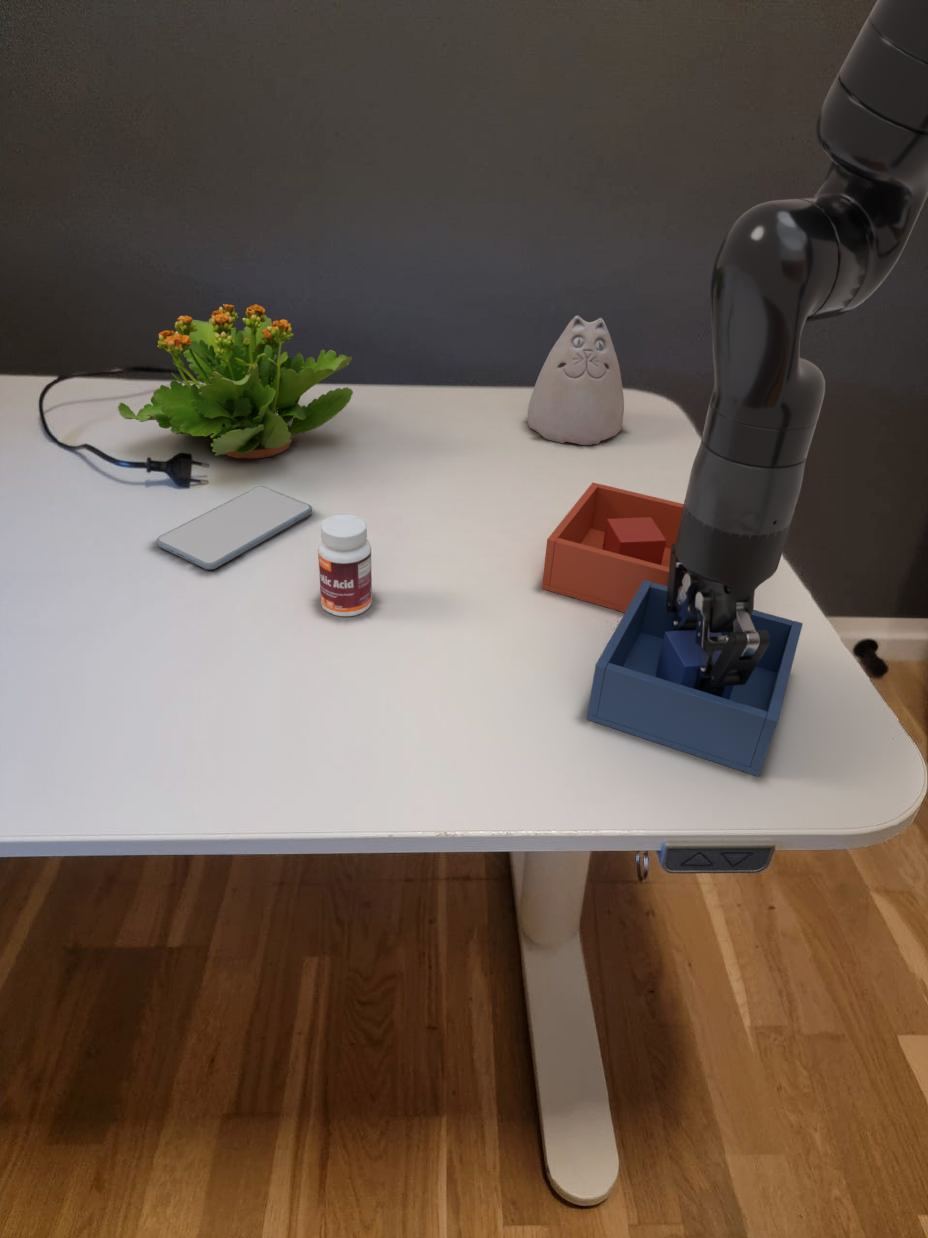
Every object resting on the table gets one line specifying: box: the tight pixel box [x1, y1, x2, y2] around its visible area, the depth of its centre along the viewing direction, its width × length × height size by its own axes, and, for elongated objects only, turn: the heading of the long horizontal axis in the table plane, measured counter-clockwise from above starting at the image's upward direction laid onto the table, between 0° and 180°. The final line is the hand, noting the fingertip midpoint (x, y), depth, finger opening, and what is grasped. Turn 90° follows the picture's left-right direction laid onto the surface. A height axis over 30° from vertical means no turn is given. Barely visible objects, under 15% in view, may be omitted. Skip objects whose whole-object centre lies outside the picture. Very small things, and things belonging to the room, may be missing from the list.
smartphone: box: [156, 485, 313, 570], centre depth 90 cm, size 8×1×15 cm
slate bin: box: [586, 580, 803, 777], centre depth 70 cm, size 14×14×6 cm
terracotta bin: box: [541, 482, 684, 613], centre depth 85 cm, size 14×14×6 cm
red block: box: [602, 517, 666, 565], centre depth 85 cm, size 5×5×5 cm
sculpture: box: [527, 315, 625, 446], centre depth 112 cm, size 13×12×15 cm
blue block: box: [656, 630, 733, 700], centre depth 70 cm, size 5×5×5 cm
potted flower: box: [117, 303, 354, 460], centre depth 103 cm, size 25×24×18 cm
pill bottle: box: [317, 513, 373, 617], centre depth 78 cm, size 5×5×8 cm
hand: (691, 687), depth 71 cm, fingers closed on blue block, 4 cm apart
